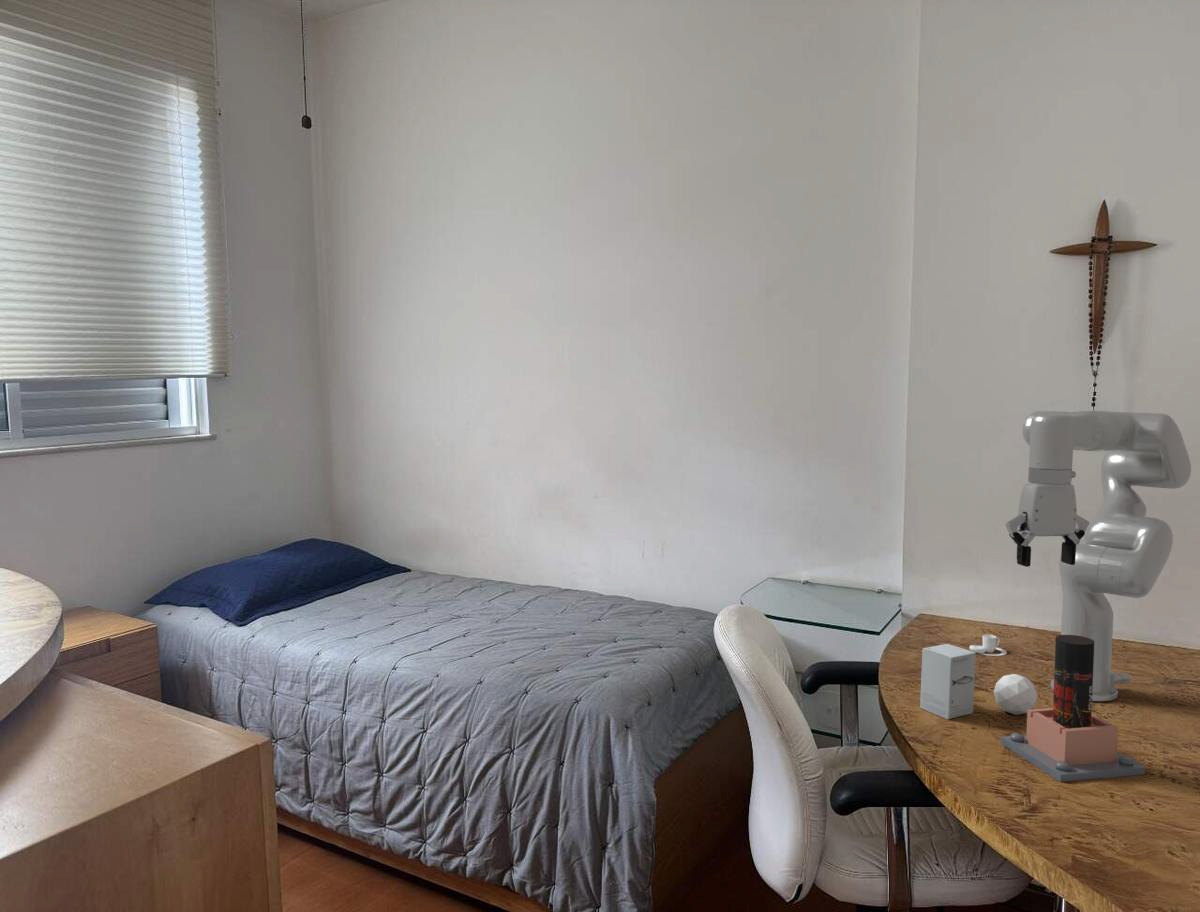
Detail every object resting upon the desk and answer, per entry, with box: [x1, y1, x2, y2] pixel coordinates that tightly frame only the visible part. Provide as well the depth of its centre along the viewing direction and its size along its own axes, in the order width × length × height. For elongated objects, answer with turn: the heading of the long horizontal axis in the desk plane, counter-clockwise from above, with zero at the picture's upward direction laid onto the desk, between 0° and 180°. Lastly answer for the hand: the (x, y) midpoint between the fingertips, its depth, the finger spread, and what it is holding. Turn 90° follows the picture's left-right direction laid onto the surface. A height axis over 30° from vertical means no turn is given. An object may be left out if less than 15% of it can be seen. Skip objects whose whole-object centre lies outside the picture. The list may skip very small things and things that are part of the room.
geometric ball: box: [993, 673, 1038, 716], centre depth 177 cm, size 8×8×8 cm
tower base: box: [1000, 707, 1146, 783], centre depth 155 cm, size 16×16×7 cm
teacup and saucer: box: [968, 634, 1008, 657], centre depth 217 cm, size 9×8×4 cm
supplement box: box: [919, 643, 977, 721], centre depth 177 cm, size 7×7×13 cm
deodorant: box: [1052, 634, 1094, 728], centre depth 155 cm, size 6×6×15 cm
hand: (1045, 564), depth 173 cm, fingers open, 9 cm apart
